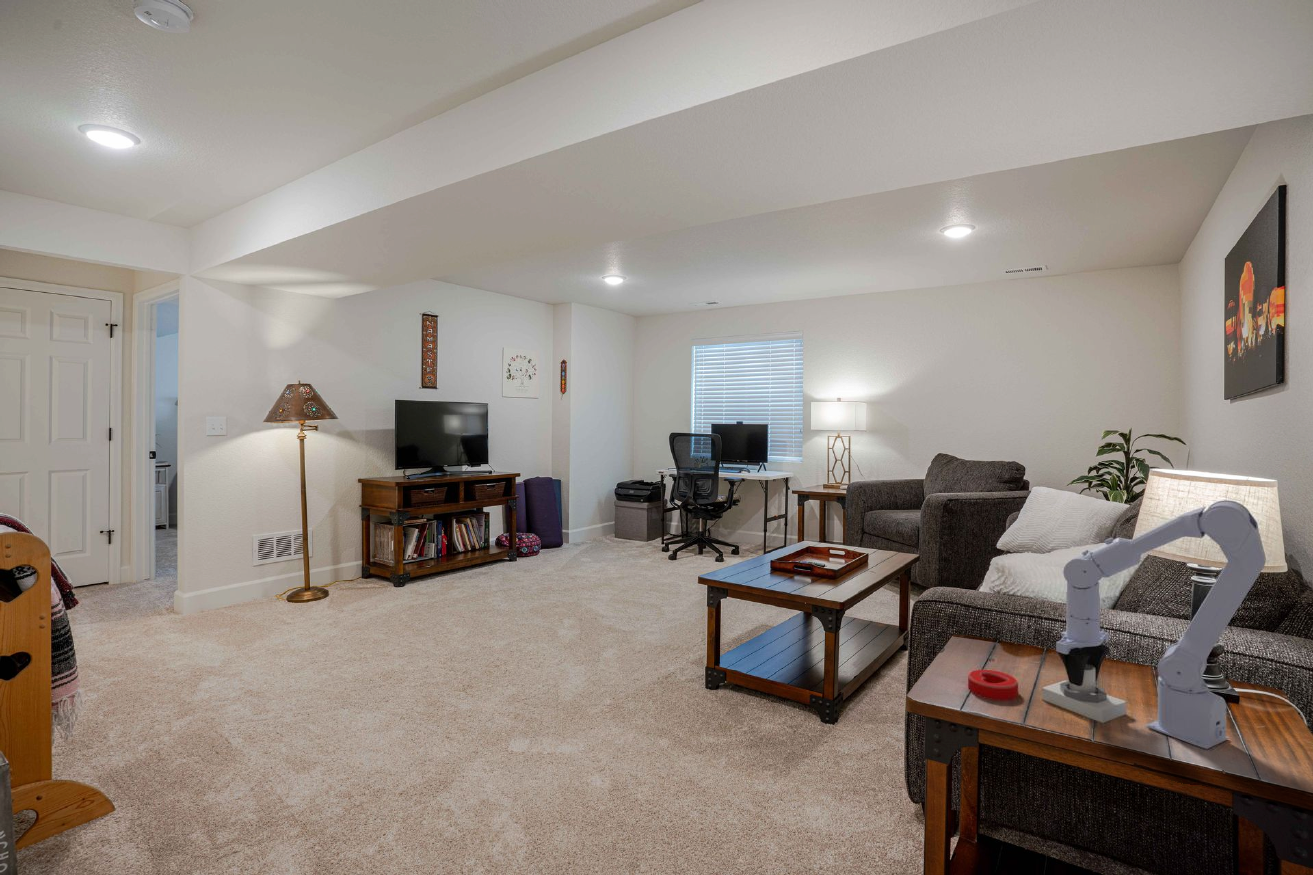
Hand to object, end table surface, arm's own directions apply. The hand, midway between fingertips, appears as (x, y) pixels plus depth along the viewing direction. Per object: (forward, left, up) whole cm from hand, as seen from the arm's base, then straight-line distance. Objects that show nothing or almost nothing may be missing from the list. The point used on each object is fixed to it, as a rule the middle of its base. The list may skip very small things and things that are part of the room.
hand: (1082, 681), depth 132 cm
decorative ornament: (+14, +9, -6) cm, 17 cm away
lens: (0, 0, -2) cm, 2 cm away
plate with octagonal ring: (0, 0, -5) cm, 5 cm away
